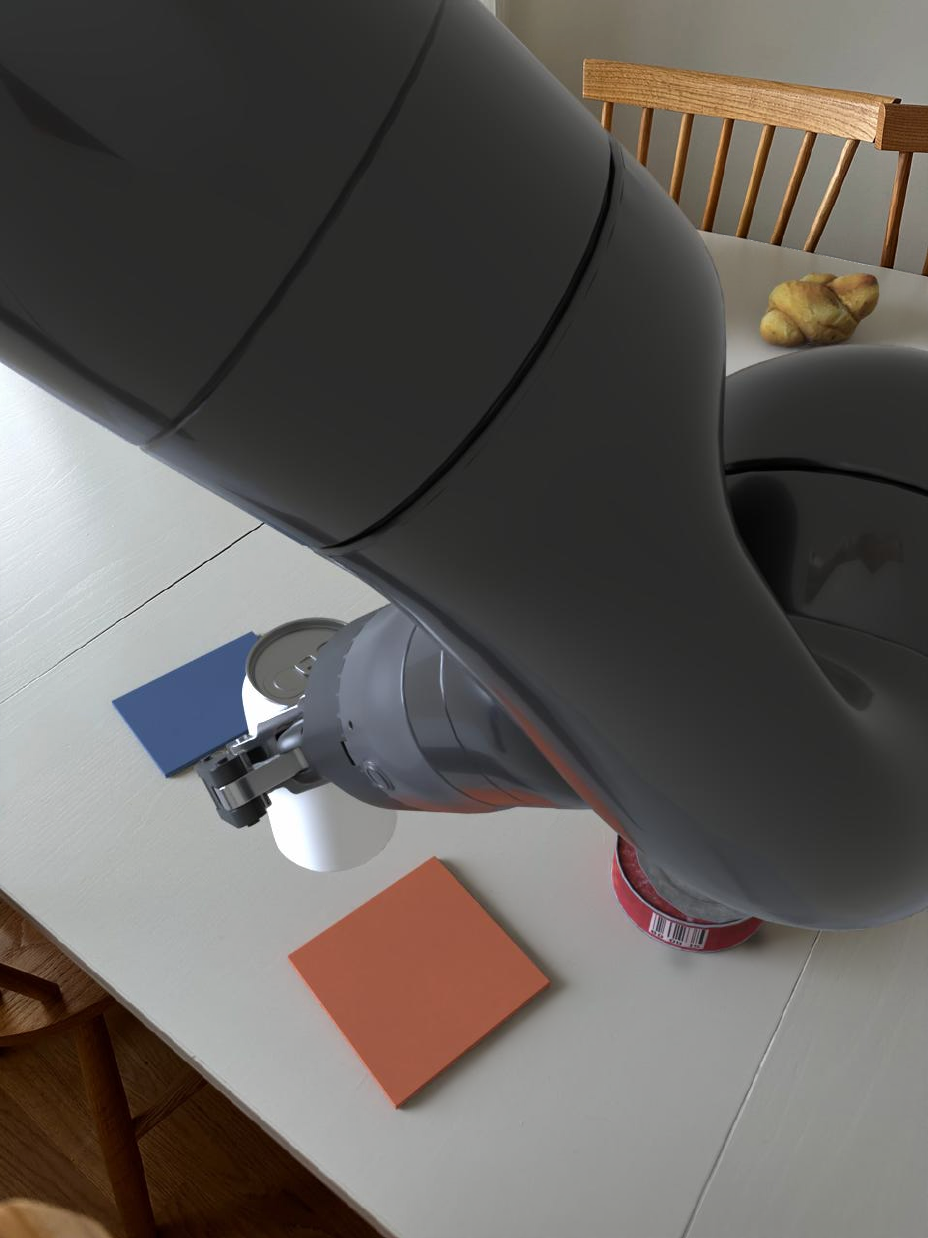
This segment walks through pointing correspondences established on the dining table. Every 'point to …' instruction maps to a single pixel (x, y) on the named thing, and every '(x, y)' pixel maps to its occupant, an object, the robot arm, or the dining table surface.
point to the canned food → (674, 906)
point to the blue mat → (191, 707)
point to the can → (324, 816)
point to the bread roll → (818, 309)
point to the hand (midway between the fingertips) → (305, 726)
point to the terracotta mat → (417, 978)
